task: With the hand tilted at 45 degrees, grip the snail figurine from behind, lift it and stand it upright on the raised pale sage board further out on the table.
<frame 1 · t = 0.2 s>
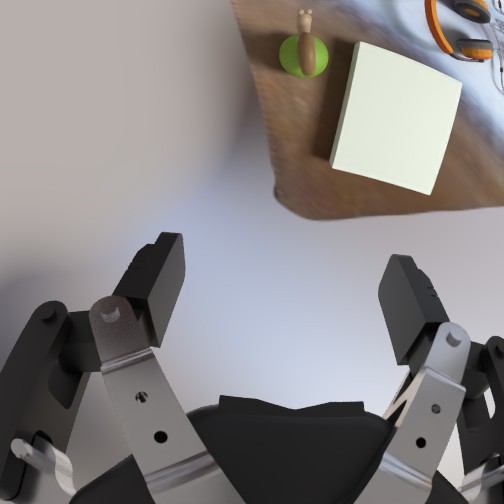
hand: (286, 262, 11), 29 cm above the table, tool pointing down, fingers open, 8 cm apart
headphones: (471, 32, 23), on the table
snail figurine: (301, 53, 30), on the table
sage board: (394, 117, 32), on the table
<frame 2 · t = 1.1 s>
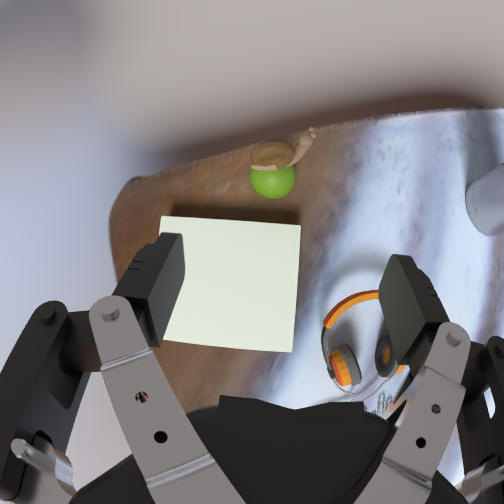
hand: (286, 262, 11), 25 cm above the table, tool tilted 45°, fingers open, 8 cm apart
headphones: (361, 366, 34), on the table
snail figurine: (275, 184, 38), on the table
sage board: (226, 284, 36), on the table
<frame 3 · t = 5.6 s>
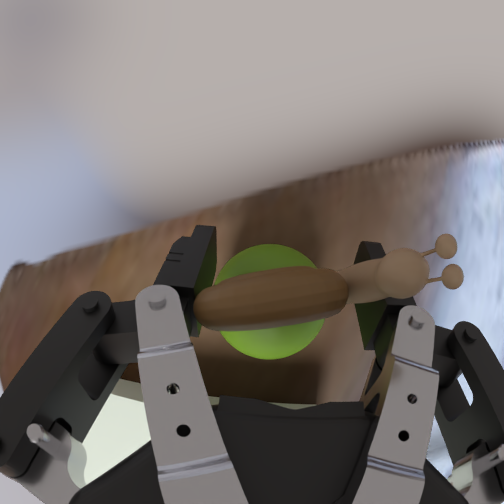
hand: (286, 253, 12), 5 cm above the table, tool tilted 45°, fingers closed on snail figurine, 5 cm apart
snail figurine: (275, 300, 17), on the table, touching gripper
sage board: (176, 482, 15), on the table
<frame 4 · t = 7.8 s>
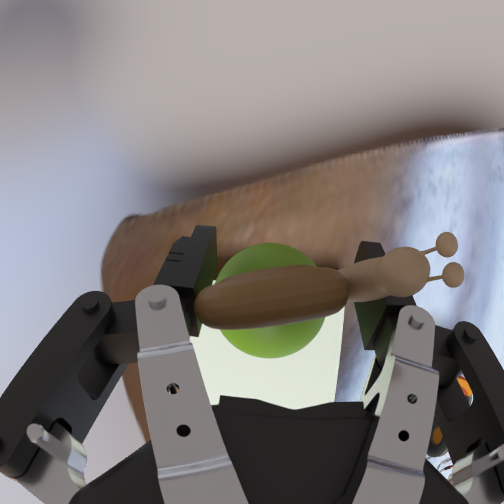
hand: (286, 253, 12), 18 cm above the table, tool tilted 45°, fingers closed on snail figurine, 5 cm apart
headphones: (407, 441, 26), on the table
snail figurine: (275, 299, 17), point 12 cm above the table, touching gripper
sage board: (250, 356, 28), on the table
when the fingers open (10 cm above the table, at t = 10.2 s): snail figurine drops 1 cm, resting on sage board.
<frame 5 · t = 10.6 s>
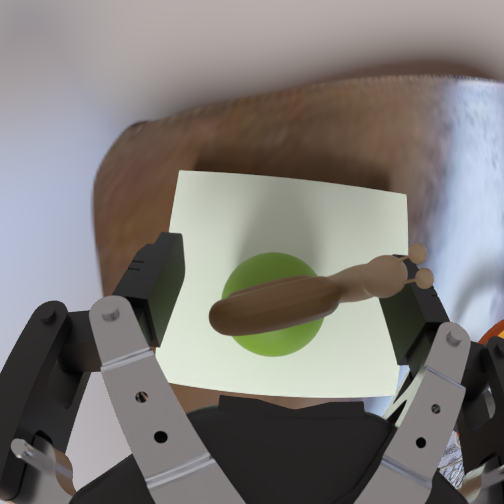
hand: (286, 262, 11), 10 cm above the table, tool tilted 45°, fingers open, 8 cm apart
headphones: (474, 412, 19), on the table
snail figurine: (278, 302, 19), point 3 cm above the table, touching sage board
sage board: (286, 288, 21), on the table
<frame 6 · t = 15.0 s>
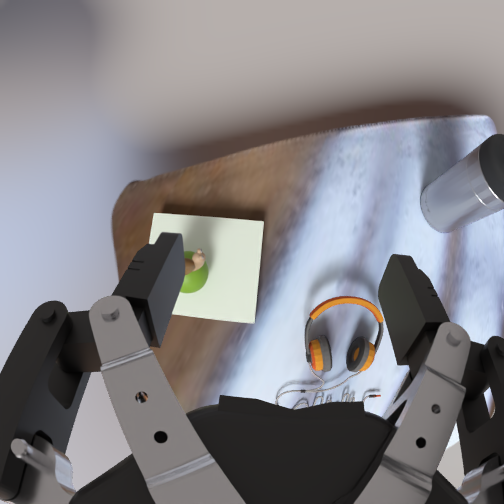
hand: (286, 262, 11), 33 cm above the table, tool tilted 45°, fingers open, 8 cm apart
headphones: (334, 359, 42), on the table
snail figurine: (195, 273, 41), point 3 cm above the table, touching sage board
sage board: (204, 268, 44), on the table
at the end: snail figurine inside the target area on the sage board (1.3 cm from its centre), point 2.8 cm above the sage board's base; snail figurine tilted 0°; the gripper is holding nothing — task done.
